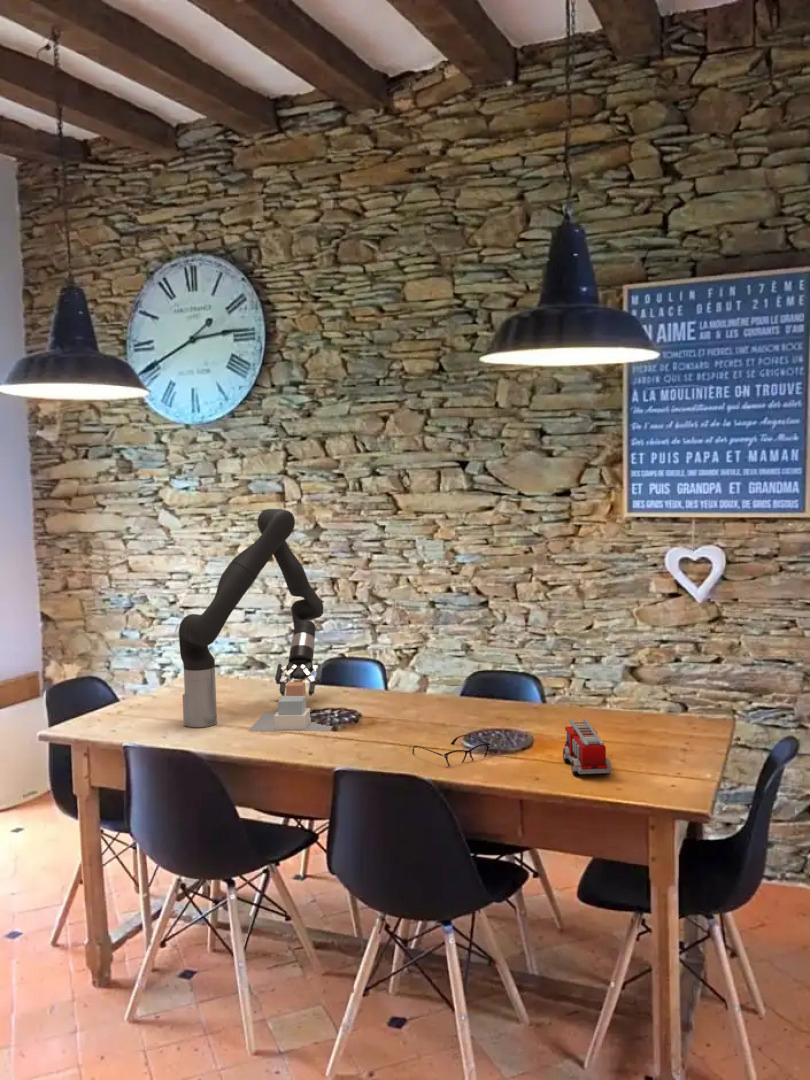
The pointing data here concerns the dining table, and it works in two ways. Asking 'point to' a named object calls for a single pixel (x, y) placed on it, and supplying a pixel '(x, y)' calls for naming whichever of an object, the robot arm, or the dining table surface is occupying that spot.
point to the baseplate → (268, 725)
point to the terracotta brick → (295, 689)
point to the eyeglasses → (459, 750)
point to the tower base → (292, 721)
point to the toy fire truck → (585, 750)
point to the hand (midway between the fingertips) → (296, 694)
